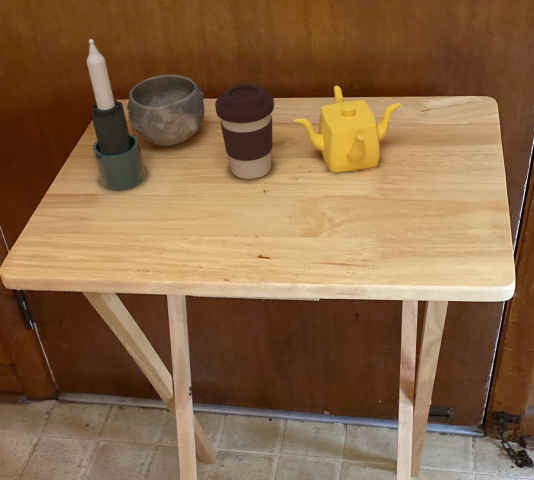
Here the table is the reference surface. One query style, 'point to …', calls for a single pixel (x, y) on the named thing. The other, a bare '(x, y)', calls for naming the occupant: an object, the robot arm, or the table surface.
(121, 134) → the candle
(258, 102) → the coffee cup
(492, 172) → the table surface
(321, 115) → the teapot
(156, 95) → the bowl
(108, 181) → the cup
